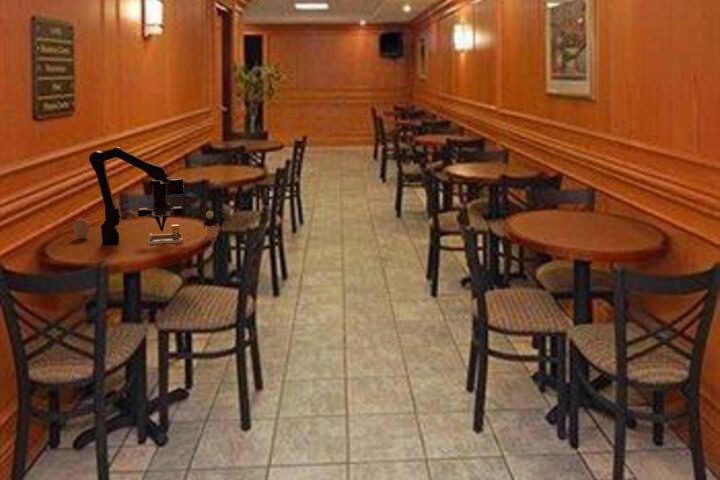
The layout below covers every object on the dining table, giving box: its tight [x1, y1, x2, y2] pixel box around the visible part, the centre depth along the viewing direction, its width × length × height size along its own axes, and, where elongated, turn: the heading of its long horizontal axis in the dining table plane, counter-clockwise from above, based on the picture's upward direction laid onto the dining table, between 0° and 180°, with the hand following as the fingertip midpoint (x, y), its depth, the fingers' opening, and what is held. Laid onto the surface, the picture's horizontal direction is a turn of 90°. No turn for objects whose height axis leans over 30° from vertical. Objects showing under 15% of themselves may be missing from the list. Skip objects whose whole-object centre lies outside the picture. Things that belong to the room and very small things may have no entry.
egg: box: [73, 217, 90, 240], centre depth 336 cm, size 7×7×9 cm
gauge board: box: [148, 232, 184, 245], centre depth 330 cm, size 14×10×3 cm
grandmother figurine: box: [202, 210, 220, 241], centre depth 331 cm, size 8×4×13 cm, turn 141°
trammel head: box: [171, 224, 180, 238], centre depth 330 cm, size 3×6×5 cm, turn 14°
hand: (161, 231), depth 330 cm, fingers closed
